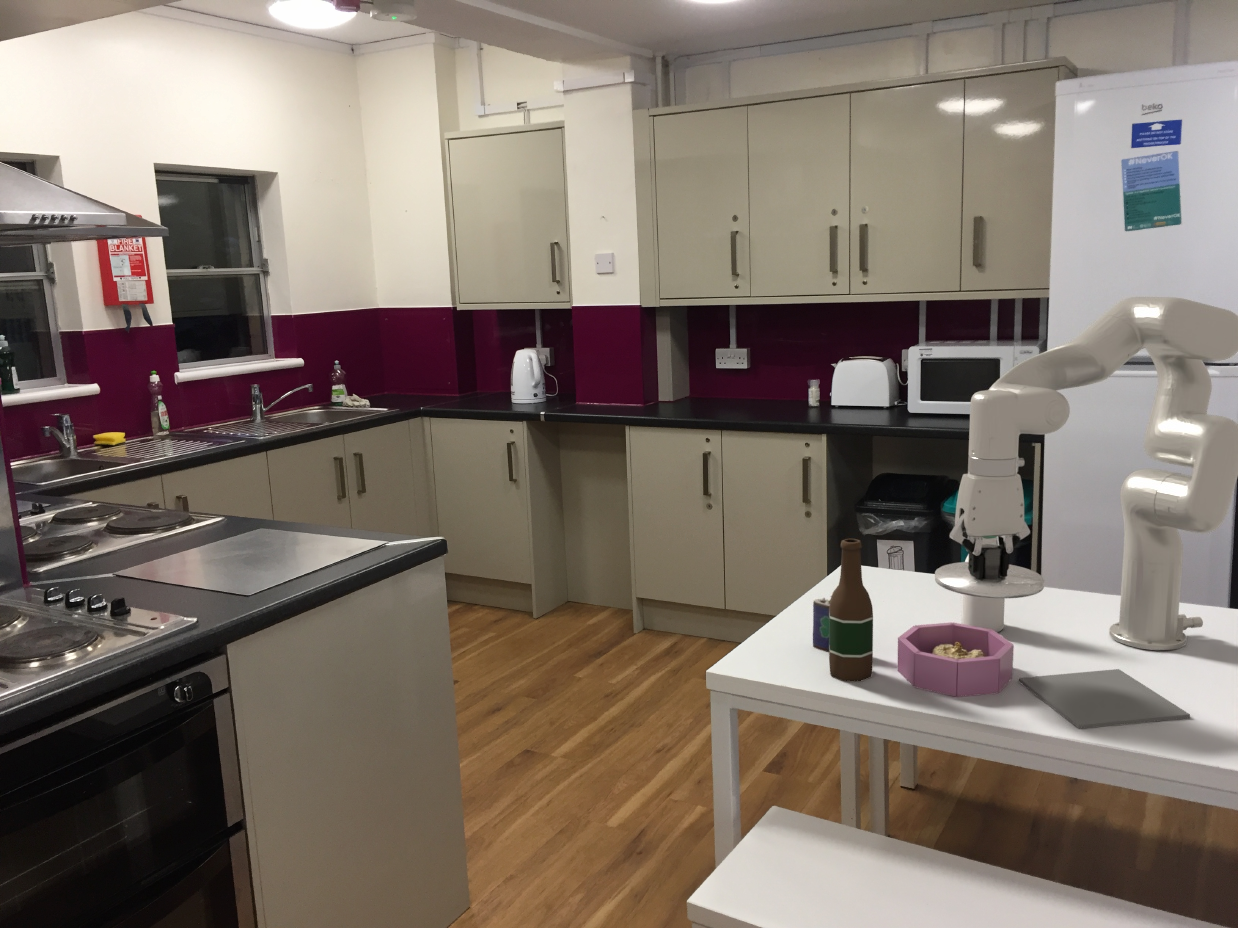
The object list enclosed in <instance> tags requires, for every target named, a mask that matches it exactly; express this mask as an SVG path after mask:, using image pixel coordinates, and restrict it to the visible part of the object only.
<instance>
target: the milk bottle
mask: <svg viewBox="0 0 1238 928" xmlns="http://www.w3.org/2000/svg"><path fill="white" fill-rule="evenodd" d="M982 544H993V545H998V544H997V536H992V537H983V542H982ZM964 562H969V553H968V554H967V556H966V558H965V561H964ZM1005 600H1006V598H984V597H976V596H970V595H964V594H961V611H960V612H961V615H960V616H961V620H960V622H961V623H960V624H964V625H969V626H975V627H980V628H986V629H991V630H994V631H995V632H997V633H999V632H1001V631H1002V630H1003V628H1004V624H1005V623H1004V622H1005Z"/></svg>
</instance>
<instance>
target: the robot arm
mask: <svg viewBox="0 0 1238 928" xmlns="http://www.w3.org/2000/svg"><path fill="white" fill-rule="evenodd" d="M1143 349H1145V350H1146V352H1147V353H1148V356H1150V358H1151V360H1152V363H1153V365H1154V367H1155V370H1156V376H1157V385H1156V392H1155V394H1154V395H1155V396H1154V399H1153V403H1152V407H1151V411H1150V415H1149V419H1148V422H1147V426H1146V431H1145V435H1144V440H1143V446H1144V447H1143V448H1144V452H1145V453H1146V454H1147V456H1148V457H1149V458H1151V459H1154V460H1155V461H1157V462H1161V463H1165V464H1171V465H1174V466H1175V465H1176V466H1181V467H1185V468H1186V467H1187V468H1193V469H1192V474H1191V475H1190V474H1189V475H1188V474H1183V473H1180V472H1175V471H1168V470H1163V469H1158V468H1157V469H1156V468H1143V469H1138V470H1135V471H1134V472H1133V471H1132V473H1130V474H1129V475H1128V476H1127V477H1126V478H1125V479H1124V481H1123V482H1122V485H1121V488H1120V497H1119V499H1120V507H1121V513H1122V518H1123V519H1122V520H1123V533H1124V534H1123V555H1122V570H1121V589H1120V604H1119V619H1118V620H1119V622H1115V623H1113V624H1112V625H1110V627H1109V629H1108V630H1109V633H1108V634H1109V636H1110V637H1111V638H1112V639H1113V640H1114V641H1116V642H1118V643H1121V644H1123V645H1126V646H1130V647H1133V648H1137V649H1144V650H1148V651H1149V650H1150V651H1152V650H1153V651H1171V650H1172V651H1173V650H1177V649H1180V648H1182V647H1184V646H1185V645H1186V644H1187V639H1188V638H1187V635H1186V634H1185V632H1184V631H1186V630H1187V629H1188V628H1191V629H1195V628H1203V625H1204V621H1203V619H1202V617H1201V616H1191V617H1187V615H1186V614H1185V613H1183V614H1179V613H1180V599H1181V598H1180V597H1181V588H1182V587H1181V585H1182V584H1181V583H1182V574H1183V573H1182V572H1183V571H1182V569H1183V557H1184V547H1183V546H1184V545H1183V542H1182V541H1183V540H1182V538H1181V535H1180V532H1179V530H1181V531H1185V532H1191V533H1195V534H1203V535H1204V534H1210V533H1213V532H1214V531H1216V530H1217V529H1218V528H1219V527H1220V526H1221V525H1222V524H1223V523H1224V521H1225V520H1226V517H1227V514H1228V513H1229V509H1230V505H1231V502H1232V498H1233V495H1234V491H1235V488H1236V484H1237V479H1238V423H1237V422H1236V421H1235V420H1233V419H1231V418H1229V417H1226V416H1223V415H1222V416H1221V415H1215V414H1214V415H1213V414H1207V413H1208V409H1209V403H1210V399H1211V396H1212V389H1213V387H1212V386H1213V385H1212V383H1213V382H1212V378H1211V376H1210V372H1209V371H1208V368H1207V366H1206V365H1205V363H1204V361H1214V362H1215V361H1216V362H1219V361H1221V362H1222V361H1226V360H1228V359H1230V358H1233V356H1235V355H1236V354H1237V353H1238V314H1236V313H1235V312H1233V311H1231V310H1229V309H1226V308H1222V307H1218V306H1214V305H1209V304H1205V303H1202V302H1198V301H1195V300H1192V299H1186V298H1183V297H1182V298H1181V297H1171V296H1170V297H1169V296H1133V297H1131V296H1130V297H1127V298H1124V299H1122V300H1120V301H1118V302H1116V303H1115V304H1114V305H1112V307H1110V308H1109V309H1108V310H1107V311H1105V312H1104V313H1103V314H1102V315H1100V316H1099V317H1098V318H1097V319H1096V320H1095V321H1094V322H1093V323H1091V324H1089V326H1088V327H1086V328H1085V329H1084V330H1082V331H1081V332H1080V333H1079V334H1078V335H1077V336H1075V337H1074V338H1073V339H1072V340H1070V341H1068V342H1066V343H1063V344H1060V345H1058V346H1055V347H1053V348H1051V349H1049V350H1046V351H1043V352H1041V353H1039V354H1036V355H1033V356H1031V357H1029V358H1027V359H1025V360H1023V361H1021V362H1019V363H1018V364H1017V365H1015V366H1012V367H1011V369H1009V370H1008V371H1007V372H1005V374H1003V375H1001V377H999V378H998V379H997V380H996V381H995V382H994V383H993V384H992V385H991V386H990V387H989V389H986V390H979V391H977V392H974V394H973V395H972V396H971V399H970V406H969V407H970V410H969V429H968V430H969V435H968V439H969V440H968V458H967V459H968V462H967V463H968V464H967V473H963V474H962V477H961V480H960V482H959V483H960V485H959V489H958V493H957V500H956V506H955V514H954V515H955V518H954V526H953V528H952V530H951V531H950V532H949V539H952V540H953V541H955V542H957V543H958V544H960V545H961V546H962V547H963V548H964V549H965V550H966V552H968V554H969V562H968V569H969V572H970V574H971V575H972V576H974V577H976V578H977V579H982V578H983V561H984V557H983V556H982V555H981V547H982V542H983V537H992V536H997V541H996V543H997V545H998V546H1000V547H1002V550H1001V573H1000V576H1002V577H1007V570H1008V569H1009V565H1010V554H1011V553H1013V551H1014V548H1016V546H1017V545H1018V544H1019V543H1020V541H1021V540H1023V539H1025V538H1026V537H1028V536H1029V535H1031V530H1030V528H1029V526H1028V524H1027V522H1026V521H1025V499H1024V495H1025V494H1024V489H1023V483H1022V477H1021V475H1020V474H1019V473H1018V472H1019V467H1020V468H1021V467H1024V466H1025V462H1026V461H1025V459H1024V457H1019V441H1020V440H1019V438H1020V435H1021V434H1027V435H1028V434H1031V435H1047V434H1048V435H1049V434H1052V433H1054V432H1058V430H1060V429H1061V428H1063V427H1064V425H1066V422H1067V421H1068V419H1069V417H1070V413H1071V410H1070V409H1071V408H1070V404H1069V401H1068V399H1067V398H1066V397H1065V396H1064V395H1063V394H1062V393H1061V392H1059V391H1061V390H1065V389H1073V388H1080V387H1085V386H1089V385H1094V384H1096V383H1100V382H1103V381H1105V380H1107V379H1108V378H1110V377H1111V376H1112V375H1113V374H1115V372H1116V371H1118V370H1119V369H1120V368H1121V367H1123V365H1124V364H1126V363H1127V362H1128V361H1129V360H1130V359H1132V357H1134V356H1135V355H1137V354H1138V353H1139V352H1140V351H1142V350H1143ZM963 533H966V535H967V538H966V537H965V536H963Z"/></svg>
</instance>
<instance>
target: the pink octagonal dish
mask: <svg viewBox="0 0 1238 928" xmlns="http://www.w3.org/2000/svg"><path fill="white" fill-rule="evenodd" d="M956 642H959V643H960V644H961V645H962V649H963V650H966V651H967V652H971V651H973V650H975V649H976V650H982V652H983V654H985V657H977V658H966V659H954V658H949V657H944V656H939V655H934V654H932V653H933V650H934V648H935V647H936V646H939V645H944V644H951V645H953V646H955V643H956ZM959 643H956V645H957V644H959ZM957 646H959V645H957ZM1014 649H1015V648H1014V644H1013V643H1012V642H1010V640H1008V639H1006V637H1003V636H1002V635H1001V634H999V632H995V631H994V630H991V629H986V628H980V627H975V626H969V625H964V624H961V623H958V622H942V623H941V622H940V623H939V622H938V623H929V624H918V625H917V624H915V625H913V626H912V627H910V628H909V629H908V630H906V631H905V632H904V633H902V634H900V635H899V636H898V637H897V672H898V673H899V674H900V675H901V676H902V677H903V678H904V679H905V680H906V681H907V683H909V684H910V685H911V686H913V687H914V688H916V689H920V690H921V689H922V690H924V691H929V692H933V693H938V694H942V695H946V696H951V697H956V698H961V697H970V696H981V695H992V694H993V695H994V694H999V693H1001V691H1002V690H1003V689H1004V688H1005V687H1006V685H1008V684H1009V683H1010V681H1011V680H1012V679H1013V673H1014V671H1013V670H1014V669H1013V668H1014Z"/></svg>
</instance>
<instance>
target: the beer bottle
mask: <svg viewBox="0 0 1238 928" xmlns="http://www.w3.org/2000/svg"><path fill="white" fill-rule="evenodd" d="M840 548H841V559H840V560H841V561H840V562H841V563H840V575H839V582H838V585H837V586H836V588H834V590H833V592H832V594H831V595H832V596H831V595H830V598H829V600H830V607H829V652H828V659H829V661H828V662H829V674H830V676H831V678H835V679H836V680H839V681H842V682H854V683H855V682H863V681H866V680H868V679H871V678H872V676H873V666H874V665H873V663H874V662H873V660H874V658H873V657H874V656H873V655H874V654H873V653H874V652H873V651H874V650H873V649H874V647H873V646H874V611H873V610H874V609H873V604H872V601H871V600H872V599H871V597H870V595H869V592H868V590H867V589H866V587H865V586H864V582H863V574H862V555H861V550H862V549H863V545H862V542H861V540H860V539H856V538H845V539H842V540H841V542H840Z"/></svg>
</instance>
